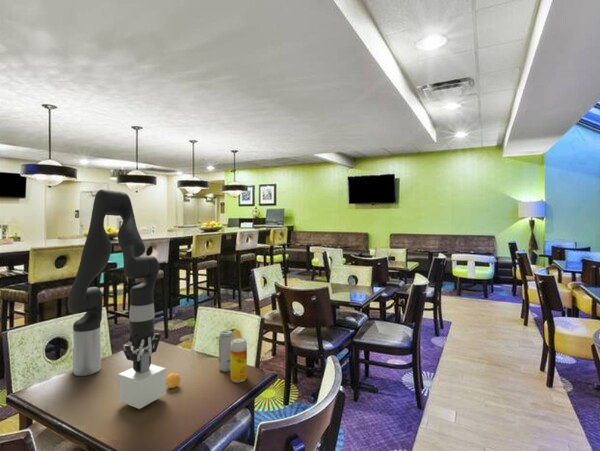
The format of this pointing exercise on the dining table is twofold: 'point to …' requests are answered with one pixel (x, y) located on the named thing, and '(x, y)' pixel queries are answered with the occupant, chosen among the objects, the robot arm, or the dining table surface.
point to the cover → (142, 384)
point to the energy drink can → (225, 350)
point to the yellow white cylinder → (238, 359)
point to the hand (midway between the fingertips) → (142, 368)
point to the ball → (172, 380)
